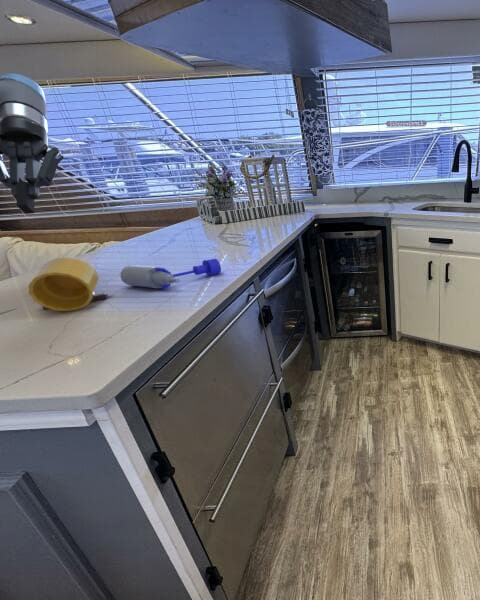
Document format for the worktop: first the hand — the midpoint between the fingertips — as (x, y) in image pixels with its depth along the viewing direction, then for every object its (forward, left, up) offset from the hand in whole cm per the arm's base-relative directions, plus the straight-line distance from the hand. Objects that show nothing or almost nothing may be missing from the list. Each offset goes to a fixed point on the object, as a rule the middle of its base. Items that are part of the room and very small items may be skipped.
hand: (25, 209), depth 69 cm
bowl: (0, +3, -16) cm, 17 cm away
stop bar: (0, +2, -23) cm, 23 cm away
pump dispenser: (+19, +12, -23) cm, 32 cm away
